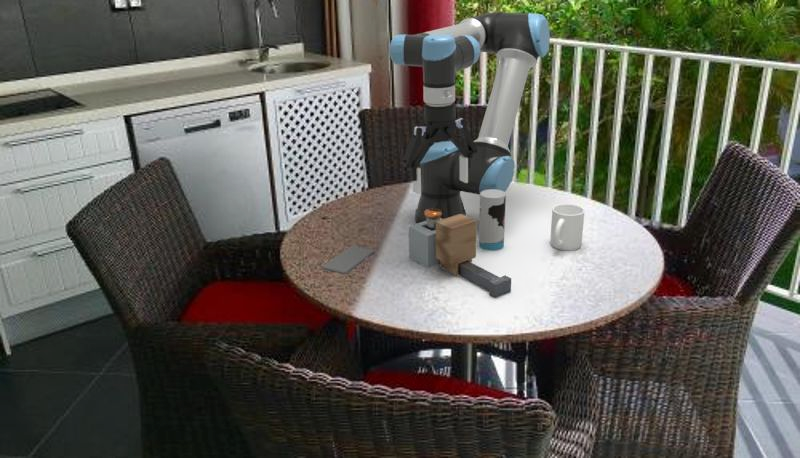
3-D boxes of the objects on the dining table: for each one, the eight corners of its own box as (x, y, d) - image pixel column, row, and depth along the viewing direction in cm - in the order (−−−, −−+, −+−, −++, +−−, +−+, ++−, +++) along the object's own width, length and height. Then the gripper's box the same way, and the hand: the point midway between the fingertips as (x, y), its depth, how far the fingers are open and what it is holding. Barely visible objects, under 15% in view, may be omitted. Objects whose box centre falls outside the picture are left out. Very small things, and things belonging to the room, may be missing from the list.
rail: (435, 265, 175) (435, 253, 173) (450, 260, 177) (450, 247, 176) (495, 298, 158) (495, 284, 157) (510, 291, 161) (511, 278, 160)
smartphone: (320, 266, 175) (352, 244, 187) (320, 270, 175) (352, 247, 187) (345, 273, 171) (376, 249, 183) (345, 276, 172) (376, 252, 183)
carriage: (436, 268, 172) (435, 221, 167) (460, 259, 176) (460, 213, 171) (451, 276, 168) (451, 228, 163) (475, 267, 172) (476, 220, 167)
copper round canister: (421, 235, 177) (421, 211, 174) (434, 231, 179) (434, 206, 177) (432, 241, 174) (431, 215, 171) (445, 236, 176) (445, 211, 173)
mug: (569, 259, 176) (572, 222, 172) (539, 251, 181) (541, 215, 177) (586, 242, 185) (589, 207, 181) (557, 236, 190) (559, 201, 186)
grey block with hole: (409, 257, 179) (408, 226, 176) (438, 247, 185) (438, 216, 181) (428, 268, 173) (427, 235, 170) (457, 257, 179) (458, 225, 175)
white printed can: (508, 248, 183) (510, 195, 177) (485, 252, 181) (487, 199, 175) (496, 238, 189) (498, 187, 183) (474, 242, 187) (475, 191, 181)
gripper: (400, 114, 153) (404, 202, 161) (492, 98, 163) (490, 181, 172) (385, 107, 159) (389, 192, 168) (474, 92, 169) (474, 172, 178)
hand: (440, 186), depth 170 cm, fingers open, 13 cm apart
